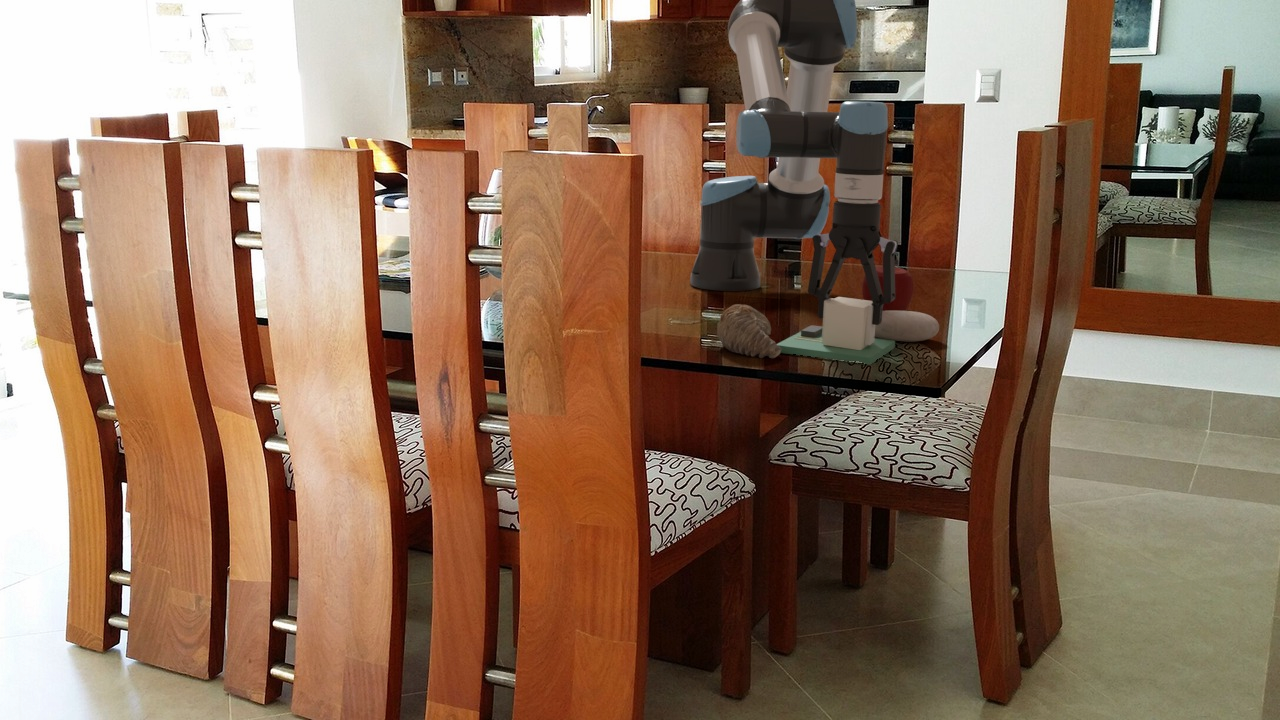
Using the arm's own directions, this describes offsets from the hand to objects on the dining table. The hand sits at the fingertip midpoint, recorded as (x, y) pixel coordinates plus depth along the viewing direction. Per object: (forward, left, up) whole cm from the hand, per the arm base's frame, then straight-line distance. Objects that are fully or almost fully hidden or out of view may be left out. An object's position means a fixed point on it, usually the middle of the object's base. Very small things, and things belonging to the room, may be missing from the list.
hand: (847, 340), depth 183 cm
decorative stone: (+5, +14, -2) cm, 15 cm away
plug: (0, 0, -1) cm, 1 cm away
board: (-2, 0, -2) cm, 3 cm away
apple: (-2, +31, -2) cm, 31 cm away
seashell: (-14, -7, -2) cm, 16 cm away
